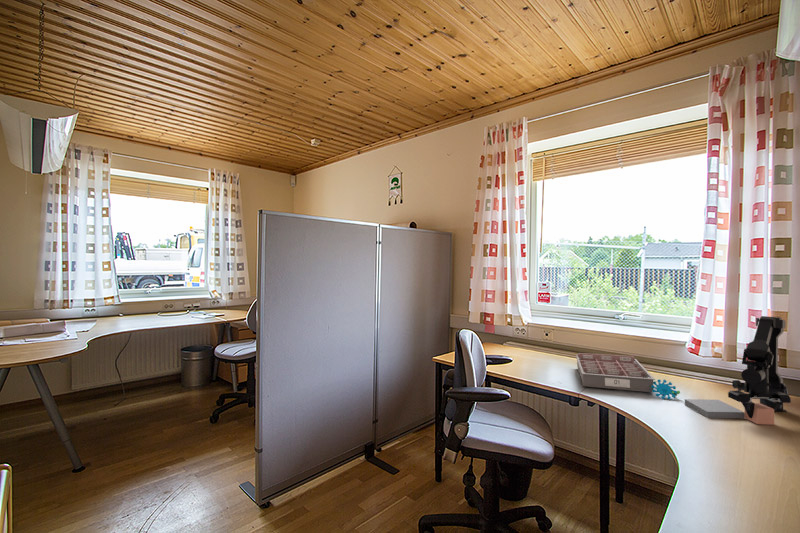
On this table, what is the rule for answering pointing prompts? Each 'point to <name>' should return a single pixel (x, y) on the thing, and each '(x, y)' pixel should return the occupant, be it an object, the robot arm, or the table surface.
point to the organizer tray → (613, 372)
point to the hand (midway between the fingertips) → (759, 417)
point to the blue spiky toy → (664, 389)
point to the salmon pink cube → (762, 414)
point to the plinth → (714, 408)
